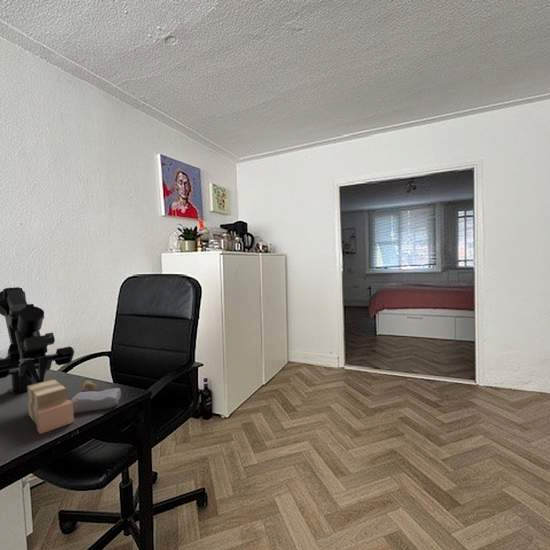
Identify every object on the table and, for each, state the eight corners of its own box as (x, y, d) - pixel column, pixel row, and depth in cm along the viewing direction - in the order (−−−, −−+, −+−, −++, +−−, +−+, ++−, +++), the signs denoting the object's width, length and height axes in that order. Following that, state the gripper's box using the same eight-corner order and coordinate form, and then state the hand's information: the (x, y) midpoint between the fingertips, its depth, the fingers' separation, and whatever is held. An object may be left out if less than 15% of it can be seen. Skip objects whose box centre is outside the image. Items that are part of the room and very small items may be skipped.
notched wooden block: (28, 414, 83) (27, 385, 83) (55, 406, 87) (53, 379, 87) (39, 428, 75) (37, 396, 75) (68, 419, 79) (66, 388, 79)
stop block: (36, 429, 74) (35, 409, 74) (70, 418, 80) (69, 399, 80) (39, 433, 72) (38, 413, 72) (73, 422, 78) (72, 402, 78)
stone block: (80, 407, 91) (67, 415, 82) (81, 390, 92) (68, 396, 82) (123, 402, 94) (116, 409, 85) (124, 386, 95) (116, 391, 86)
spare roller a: (80, 383, 98) (90, 378, 101) (83, 391, 99) (93, 387, 101) (85, 387, 95) (95, 382, 97) (88, 395, 96) (98, 390, 98)
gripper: (-11, 331, 81) (-3, 381, 74) (70, 320, 95) (84, 361, 88) (-13, 356, 86) (-5, 404, 79) (64, 342, 101) (77, 382, 93)
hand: (40, 386), depth 85 cm, fingers closed, pressing on notched wooden block
